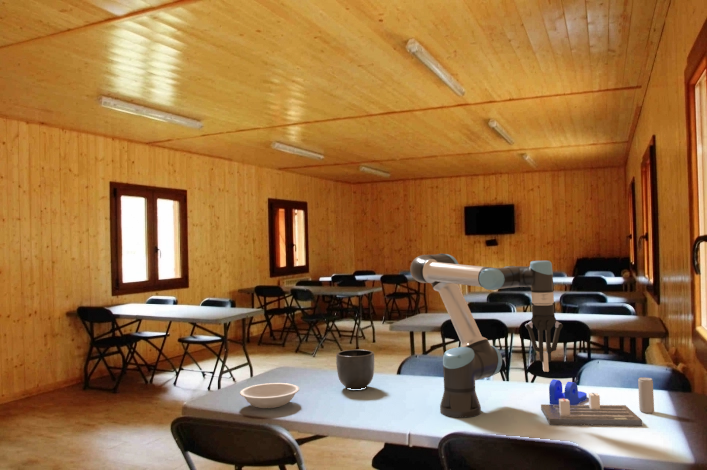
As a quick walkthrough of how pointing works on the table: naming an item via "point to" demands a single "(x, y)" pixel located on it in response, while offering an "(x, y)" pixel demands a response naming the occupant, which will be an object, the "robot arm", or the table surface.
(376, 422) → the table surface
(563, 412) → the fader
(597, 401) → the fader
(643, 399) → the beverage can
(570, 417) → the console
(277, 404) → the soup bowl
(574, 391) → the bracket
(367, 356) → the planter
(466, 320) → the robot arm
